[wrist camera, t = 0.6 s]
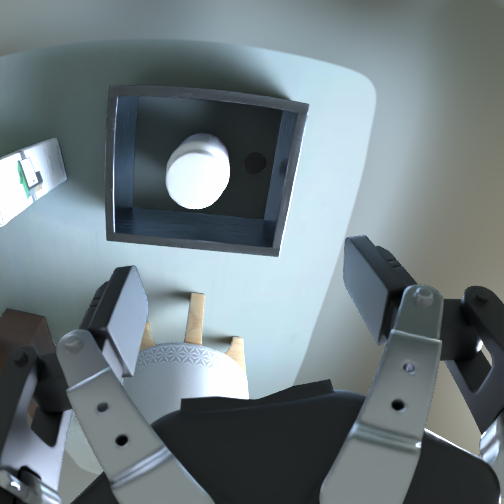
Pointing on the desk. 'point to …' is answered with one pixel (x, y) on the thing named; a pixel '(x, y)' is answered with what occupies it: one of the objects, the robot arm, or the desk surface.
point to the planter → (185, 369)
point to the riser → (23, 339)
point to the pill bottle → (198, 171)
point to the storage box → (189, 223)
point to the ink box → (29, 176)
